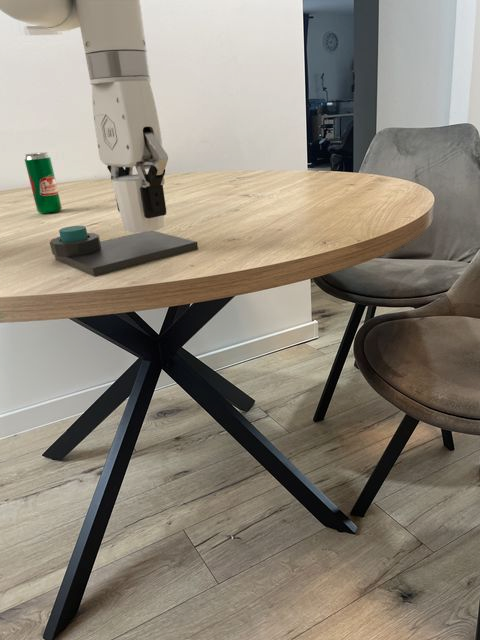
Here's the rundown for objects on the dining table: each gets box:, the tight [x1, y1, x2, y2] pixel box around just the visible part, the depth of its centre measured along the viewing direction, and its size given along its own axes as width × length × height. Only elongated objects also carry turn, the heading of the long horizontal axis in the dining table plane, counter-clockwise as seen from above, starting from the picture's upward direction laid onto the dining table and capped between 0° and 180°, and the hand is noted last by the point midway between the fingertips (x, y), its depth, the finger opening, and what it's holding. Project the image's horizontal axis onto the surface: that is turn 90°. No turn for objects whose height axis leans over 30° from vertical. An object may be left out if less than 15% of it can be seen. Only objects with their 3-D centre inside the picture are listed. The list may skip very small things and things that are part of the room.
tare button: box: [58, 225, 88, 242], centre depth 72 cm, size 4×4×2 cm
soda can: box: [24, 151, 63, 215], centre depth 108 cm, size 5×5×12 cm
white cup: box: [110, 173, 165, 233], centre depth 72 cm, size 7×7×7 cm
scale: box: [49, 230, 199, 278], centre depth 73 cm, size 17×14×3 cm
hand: (141, 212), depth 72 cm, fingers closed on white cup, 6 cm apart
